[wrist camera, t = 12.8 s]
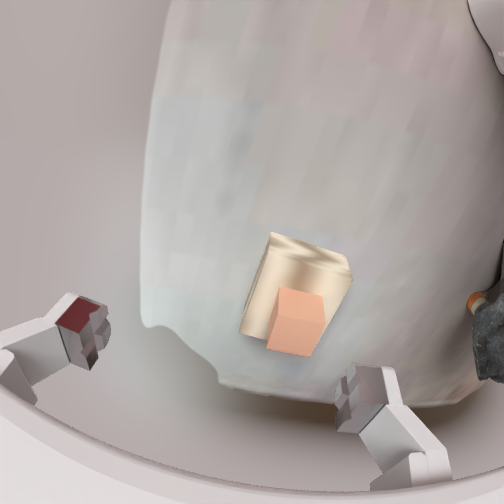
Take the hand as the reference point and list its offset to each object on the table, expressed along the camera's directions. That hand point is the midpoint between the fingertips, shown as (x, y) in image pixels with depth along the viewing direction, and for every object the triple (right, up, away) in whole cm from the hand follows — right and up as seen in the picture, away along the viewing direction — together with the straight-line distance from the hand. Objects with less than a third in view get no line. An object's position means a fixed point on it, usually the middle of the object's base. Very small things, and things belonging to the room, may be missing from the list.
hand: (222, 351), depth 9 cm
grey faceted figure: (+38, -3, +28) cm, 47 cm away
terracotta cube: (+6, -4, +26) cm, 27 cm away
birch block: (+6, -1, +31) cm, 32 cm away
